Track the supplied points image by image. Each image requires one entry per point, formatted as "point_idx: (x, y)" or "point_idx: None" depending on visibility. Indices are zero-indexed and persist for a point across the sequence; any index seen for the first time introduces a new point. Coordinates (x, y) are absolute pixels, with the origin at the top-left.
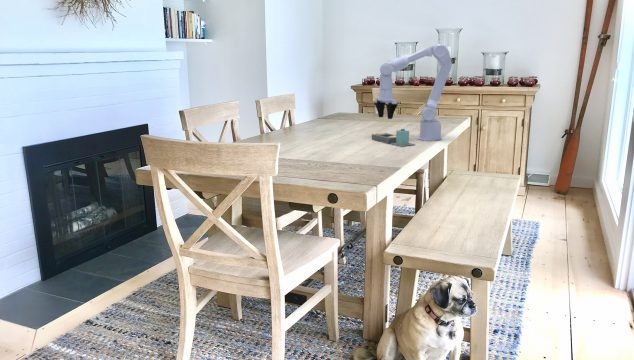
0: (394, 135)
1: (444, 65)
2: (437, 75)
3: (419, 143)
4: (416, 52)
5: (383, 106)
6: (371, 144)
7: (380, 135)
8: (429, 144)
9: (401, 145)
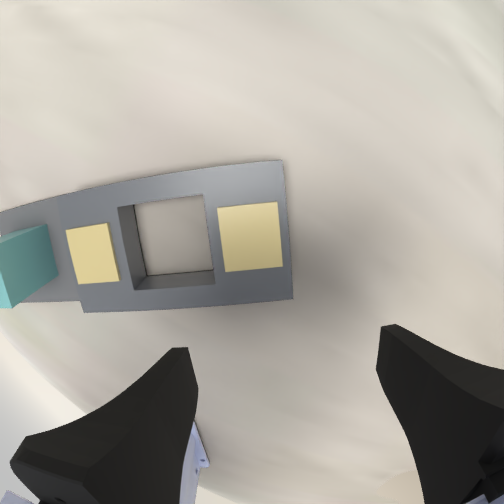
0: (152, 296)
1: None
2: None
3: (69, 351)
4: None
5: (427, 468)
6: (118, 86)
7: (204, 204)
8: (45, 367)
9: (5, 224)
